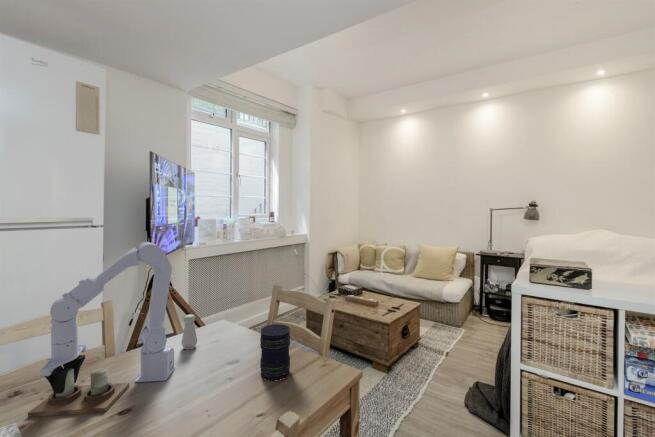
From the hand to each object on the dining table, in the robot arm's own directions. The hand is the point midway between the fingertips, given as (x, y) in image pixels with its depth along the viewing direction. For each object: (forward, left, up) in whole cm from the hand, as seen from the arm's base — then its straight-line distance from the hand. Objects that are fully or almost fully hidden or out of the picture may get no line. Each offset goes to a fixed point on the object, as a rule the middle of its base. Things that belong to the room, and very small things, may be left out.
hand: (65, 387), depth 86 cm
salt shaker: (-23, -32, -4) cm, 40 cm away
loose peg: (0, 0, -2) cm, 2 cm away
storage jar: (-58, -9, -4) cm, 59 cm away
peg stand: (-4, 0, -4) cm, 6 cm away
